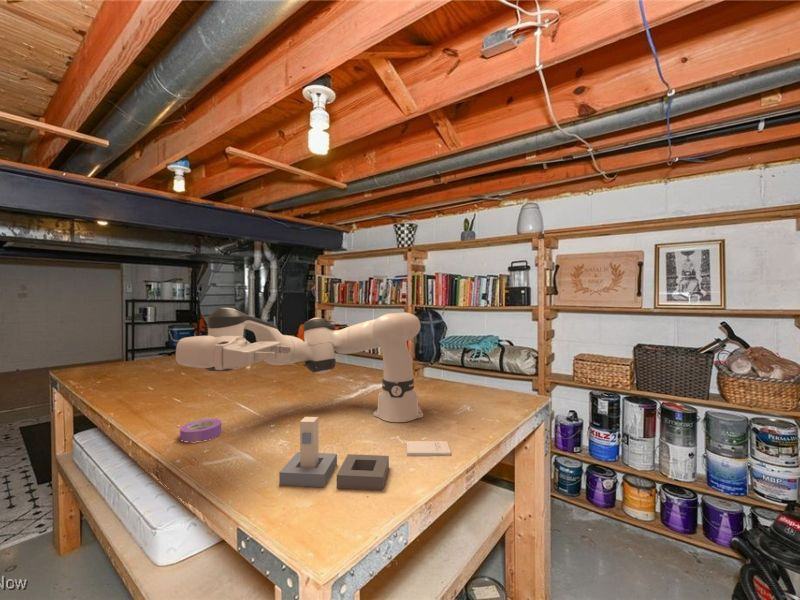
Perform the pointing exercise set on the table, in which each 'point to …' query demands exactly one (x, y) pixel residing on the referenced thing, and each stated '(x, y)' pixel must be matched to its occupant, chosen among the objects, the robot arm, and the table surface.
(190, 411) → the table surface
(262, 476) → the table surface
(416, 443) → the external hard drive
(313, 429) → the plug
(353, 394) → the table surface
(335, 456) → the socket
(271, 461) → the table surface
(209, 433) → the masking tape
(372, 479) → the socket
